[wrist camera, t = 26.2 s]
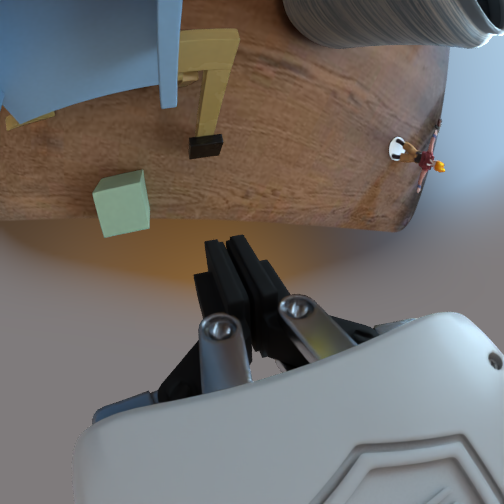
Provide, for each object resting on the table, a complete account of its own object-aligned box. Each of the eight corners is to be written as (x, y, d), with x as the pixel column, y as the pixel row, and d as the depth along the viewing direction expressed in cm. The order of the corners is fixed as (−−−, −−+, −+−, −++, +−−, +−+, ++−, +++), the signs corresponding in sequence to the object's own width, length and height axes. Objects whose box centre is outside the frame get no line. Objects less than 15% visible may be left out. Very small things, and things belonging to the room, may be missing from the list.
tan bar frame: (46, 119, 21) (0, 133, 12) (43, 15, 13) (3, -8, 5) (186, 86, 25) (200, 79, 16) (184, -18, 17) (199, -61, 9)
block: (110, 218, 29) (104, 238, 25) (101, 178, 27) (92, 193, 23) (150, 209, 31) (149, 228, 27) (142, 169, 28) (140, 182, 24)
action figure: (400, 105, 33) (448, 117, 25) (411, 112, 34) (457, 125, 27) (381, 175, 39) (424, 198, 31) (392, 178, 40) (434, 201, 32)
